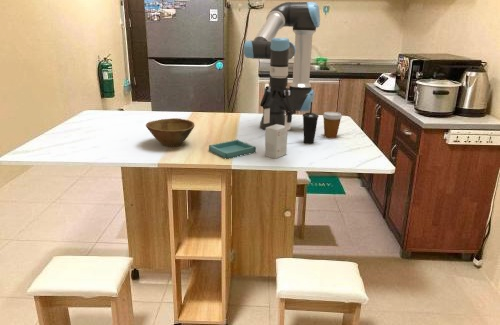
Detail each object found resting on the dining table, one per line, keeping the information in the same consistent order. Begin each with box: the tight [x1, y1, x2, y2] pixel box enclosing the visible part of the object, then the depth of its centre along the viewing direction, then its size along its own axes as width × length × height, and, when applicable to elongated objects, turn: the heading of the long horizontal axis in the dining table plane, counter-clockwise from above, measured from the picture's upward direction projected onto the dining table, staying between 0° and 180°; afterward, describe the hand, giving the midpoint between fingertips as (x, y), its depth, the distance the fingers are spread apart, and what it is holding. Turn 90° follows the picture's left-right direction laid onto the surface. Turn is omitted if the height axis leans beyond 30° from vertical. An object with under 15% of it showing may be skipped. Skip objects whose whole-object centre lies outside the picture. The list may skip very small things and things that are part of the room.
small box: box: [264, 124, 288, 160], centre depth 178 cm, size 8×6×13 cm
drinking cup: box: [302, 102, 319, 145], centre depth 196 cm, size 8×8×20 cm
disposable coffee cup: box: [322, 111, 343, 139], centre depth 208 cm, size 10×10×12 cm
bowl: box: [145, 117, 195, 147], centre depth 192 cm, size 22×23×10 cm
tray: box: [208, 139, 257, 160], centre depth 183 cm, size 14×16×3 cm
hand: (276, 126), depth 176 cm, fingers open, 13 cm apart
